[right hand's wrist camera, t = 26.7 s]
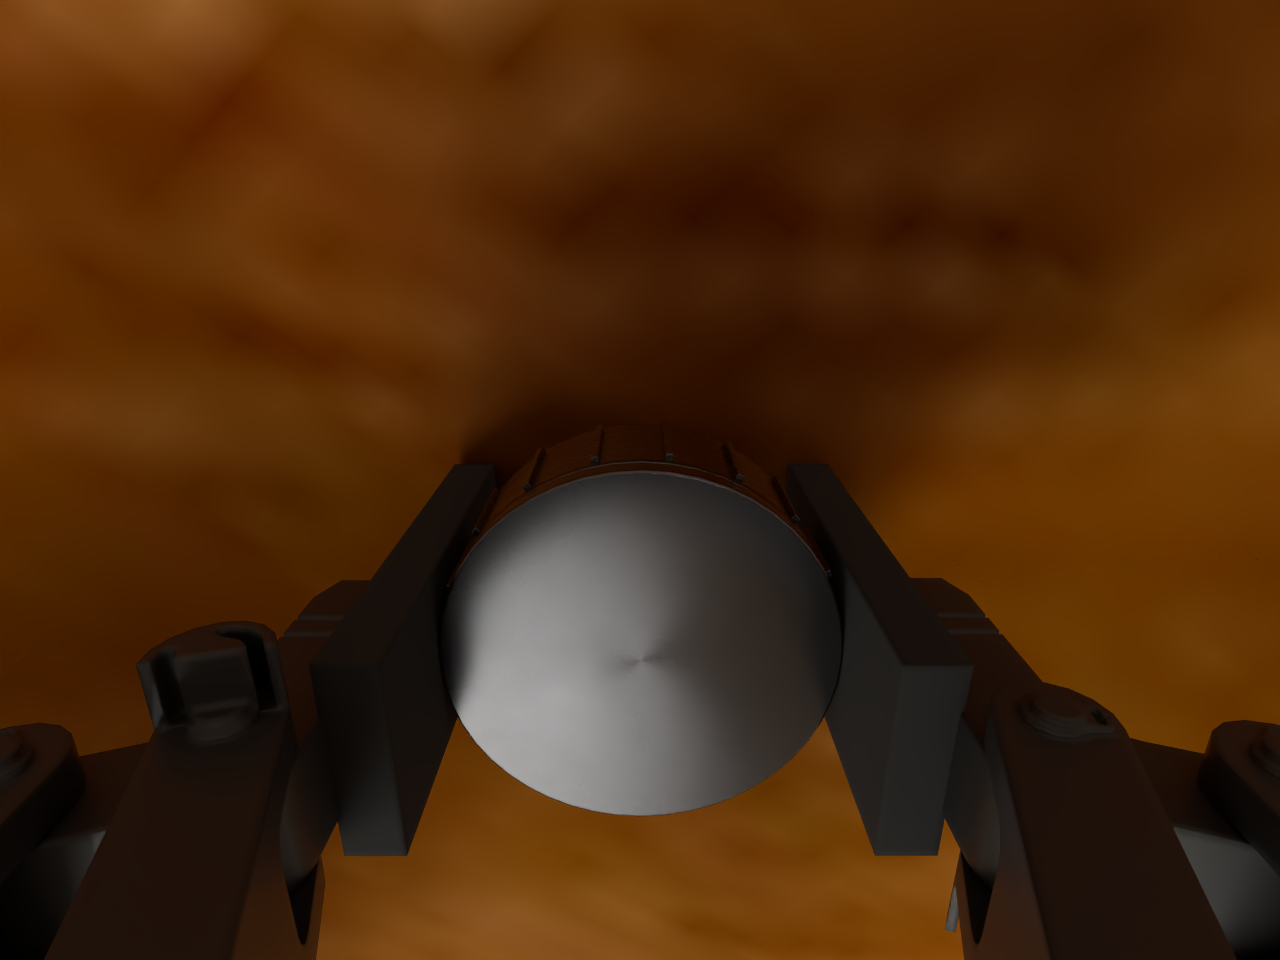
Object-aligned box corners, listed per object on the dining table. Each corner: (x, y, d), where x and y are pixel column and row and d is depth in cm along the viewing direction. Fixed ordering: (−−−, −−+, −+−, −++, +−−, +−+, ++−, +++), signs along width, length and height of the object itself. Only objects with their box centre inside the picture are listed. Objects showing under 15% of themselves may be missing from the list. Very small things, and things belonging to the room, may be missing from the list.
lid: (670, 776, 14) (675, 876, 12) (402, 611, 12) (354, 691, 10) (886, 557, 12) (937, 629, 10) (602, 342, 11) (594, 373, 9)
